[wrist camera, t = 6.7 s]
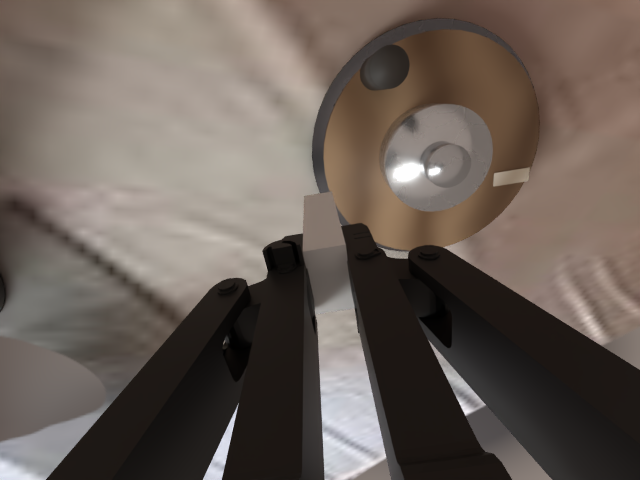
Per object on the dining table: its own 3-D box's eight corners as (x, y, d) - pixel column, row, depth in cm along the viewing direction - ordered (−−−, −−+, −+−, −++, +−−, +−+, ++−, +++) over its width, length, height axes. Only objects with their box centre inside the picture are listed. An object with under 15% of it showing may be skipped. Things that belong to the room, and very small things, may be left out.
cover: (383, 207, 28) (396, 228, 24) (374, 113, 25) (387, 117, 20) (472, 192, 28) (503, 210, 23) (476, 94, 24) (512, 93, 20)
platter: (338, 256, 32) (343, 292, 26) (306, 56, 24) (303, 43, 19) (517, 229, 31) (564, 260, 25) (541, 12, 23) (617, -17, 18)
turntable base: (329, 260, 34) (330, 266, 32) (292, 47, 25) (291, 45, 24) (518, 231, 32) (526, 235, 31) (544, -2, 24) (555, -7, 23)
